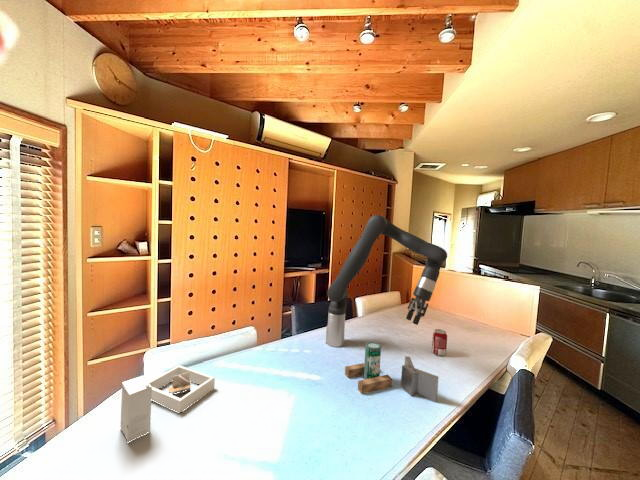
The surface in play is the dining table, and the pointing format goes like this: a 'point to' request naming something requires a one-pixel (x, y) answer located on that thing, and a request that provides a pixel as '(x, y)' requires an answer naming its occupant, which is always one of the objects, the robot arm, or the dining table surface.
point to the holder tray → (182, 403)
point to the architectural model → (180, 383)
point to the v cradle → (418, 381)
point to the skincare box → (136, 407)
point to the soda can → (439, 342)
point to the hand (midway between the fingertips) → (411, 321)
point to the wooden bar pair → (370, 383)
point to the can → (372, 360)
